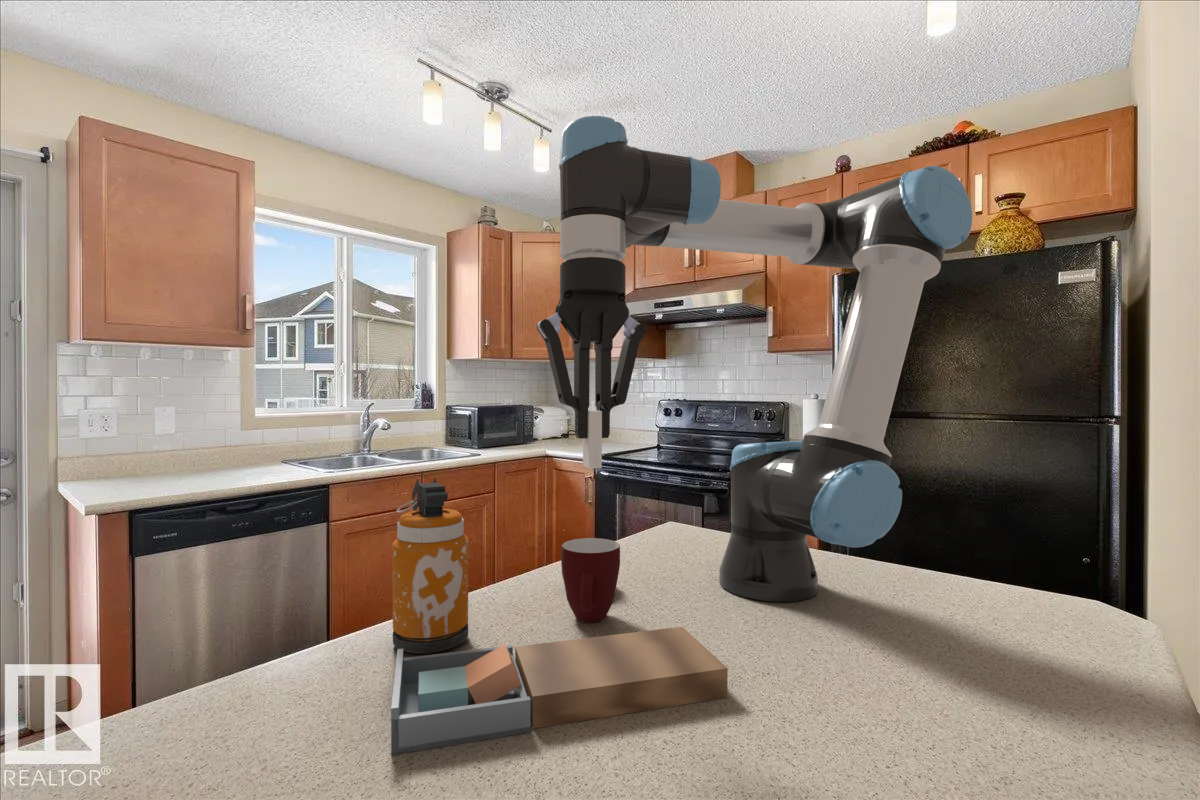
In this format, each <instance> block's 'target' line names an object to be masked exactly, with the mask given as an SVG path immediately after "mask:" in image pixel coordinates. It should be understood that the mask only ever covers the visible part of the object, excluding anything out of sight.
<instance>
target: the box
mask: <svg viewBox="0 0 1200 800" xmlns="http://www.w3.org/2000/svg"><path fill="white" fill-rule="evenodd" d="M506 646H507V648H508V650H509V653H510V655H511V657H512V659H513V661H514V663H515V666H516V669H517V672H518V675H519V678H520V681H521V684H522V685H521V686H519V687H518V688H516V689H514V690H512V691H511V692H509V693H507V694H505V695H504V696H502V697H500V698H499V699H497V700H495V701H493V702H488V703H481V704H476V703H475V701H474V699H473V697H472V695H471V693H470V691H469V689H468V705H467V706H460V707H453V708H446V709H439V710H432V711H425V712H419V713H418V690H419V672H424V671H431V670H439V669H447V668H455V667H463V666H466V665H468V664H470V663H472V662H473V661H475V660H477V659H479V658H481V657H482V656H484V655H486V654H488V653H490V652H491V651H493V650H495V649H497V648H499V647H500V646H494V647H486V648H485V647H484V648H477V649H468V650H461V651H458V650H457V651H451V652H443V653H441V652H440V653H432V654H424V655H419V656H409V657H404V651H403V649H398V648H397V650H396V660H395V668H394V670H395V671H394V679H393V686H392V697H391V708H390V727H391V728H390V731H391V732H390V734H391V735H390V737H391V739H390V741H391V742H390V744H391V745H390V751H391V752H390V754H391V756H392V755H399V754H405V753H411V752H412V753H413V752H418V751H423V750H430V749H435V748H442V747H447V746H455V745H459V744H460V745H461V744H467V743H473V742H479V741H485V740H491V739H498V738H503V737H509V736H515V735H521V734H528V733H531V722H530V697H527V694H526V691H525V688H524V685H523V682H522V679H521V676H520V673H519V670H518V667H517V664H516V661H515V656H514V655H515V654H514V651H513V650H514V649H513V647H514V646H513V644H511V645H510V644H508V645H506Z"/></svg>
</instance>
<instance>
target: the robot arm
mask: <svg viewBox="0 0 1200 800" xmlns="http://www.w3.org/2000/svg"><path fill="white" fill-rule="evenodd" d="M626 131H627V130H626V128H625V126H624V125H623V124H622V122H619V121H616V120H615V119H613V118H611V117H608V116H605V115H604V116H603V115H590V116H589V115H588V116H582V117H579V118H577V119H574V120H573V121H570V122H569V123H568V124H567V126H566V127H564V129H563V131H562V133H561V134H562V135H561V140H560V141H561V143H560V155H559V164H558V169H559V179H560V180H559V187H560V188H559V189H560V190H559V191H560V192H559V194H560V236H559V237H560V238H559V239H560V242H559V243H560V245H559V246H560V247H559V248H560V249H559V256H560V257H561V259H562V260H563V261H562V263H561V264H560V266H559V299H558V300H559V301H558V304H557V306H556V307H555V310H554V311H555V313H554V314H552V315H550V316H549V317H547V318H546V319H542V320H540V321H539V322H538V323H536V330H537V331H538V333H539V334H540V336H541V337H542V339H543V341H544V343H545V346H546V351H547V356H548V360H549V364H550V368H551V372H552V376H553V381H554V385H555V389H556V392H557V394H556V395H557V398H558V402H559V403H560V404H562V405H563V406H567V407H570V408H572V409H573V411H574V435H575V437H576V438H577V439H582V466H583V467H584V468H587V469H589V470H592V469H595V470H596V469H602V468H603V467H602V464H603V462H602V461H603V460H602V459H603V455H602V453H603V451H602V450H603V449H602V448H603V445H602V444H603V439H609V437H610V433H611V432H610V431H611V427H610V426H611V421H610V420H611V410H613V408H615V407H617V406H620V405H624V404H625V403H626V402H627V396H628V393H629V389H630V384H631V381H632V376H633V372H634V368H635V364H636V363H635V362H636V359H637V354H638V351H639V346H640V343H641V341H642V339H643V338H644V336H645V334H646V333H647V331H648V325H647V324H646V323H644V322H641V323H640V322H638V321H637V320H636V319H635V318H634V317H632V316H631V315H630V309H629V307H628V305H627V302H626V269H627V268H626V265H625V264H624V262H622V261H623V260H624V259H625V258H627V257H626V256H627V254H626V253H627V250H626V249H628V248H630V247H631V246H643V247H658V248H659V247H660V248H673V249H686V250H697V251H698V250H699V251H709V252H721V253H722V252H724V253H735V254H744V255H745V254H746V255H747V254H748V255H749V254H750V255H761V256H772V257H784V258H786V259H787V260H788V261H789V262H791V263H792V264H795V265H801V266H816V267H824V268H825V267H827V268H839V269H856V270H858V272H859V276H858V278H857V281H856V286H855V290H854V294H853V297H852V301H851V304H850V309H849V312H848V315H847V319H846V322H845V323H846V324H845V326H844V331H843V335H842V337H841V341H840V345H839V349H838V353H837V356H836V360H835V364H834V368H833V371H832V375H831V378H830V383H829V386H828V389H827V392H826V396H825V401H824V405H823V408H822V412H821V415H820V419H819V422H818V425H817V426H816V427H815V428H813V429H811V430H809V431H807V432H806V433H804V434H803V435H804V436H803V438H802V440H795V441H793V440H792V441H791V440H789V441H771V442H770V441H769V442H753V443H752V442H751V443H741V444H738V445H736V446H735V447H734V448H733V449H732V452H731V460H730V466H729V470H730V536H729V540H728V543H727V546H726V549H725V551H724V554H723V557H722V561H721V564H720V566H719V575H718V576H719V581H718V582H719V585H720V586H721V587H722V588H723V589H724V590H726V591H728V592H729V593H731V594H734V595H736V596H741V597H743V598H747V599H752V600H758V601H765V602H781V603H782V602H783V603H785V602H788V603H789V602H797V601H798V602H799V601H805V600H807V599H810V598H813V597H814V596H816V595H817V594H818V591H819V577H818V573H817V570H816V566H815V564H814V561H813V557H812V554H811V551H810V547H809V544H808V542H807V536H810V537H812V538H816V539H818V540H821V541H822V542H825V543H829V544H831V545H840V546H844V547H847V548H864V547H867V546H871V545H872V544H874V543H875V542H876V540H879V539H882V538H883V537H884V536H886V534H888V532H889V531H890V530H891V529H892V527H894V524H895V522H896V521H897V518H898V516H899V514H900V511H901V507H902V503H903V502H902V501H903V490H902V488H901V487H899V486H900V484H901V482H900V481H901V480H900V478H899V476H898V475H897V473H896V472H895V471H894V470H893V469H892V468H891V467H890V465H891V462H892V459H893V458H892V457H893V455H892V453H891V452H890V451H889V449H888V448H887V447H886V445H885V443H884V439H885V436H886V432H887V427H888V424H889V420H890V416H891V413H892V408H893V406H894V405H893V404H894V401H895V397H896V393H897V389H898V386H899V380H900V377H901V373H902V369H903V365H904V362H905V359H906V353H907V352H908V351H907V350H908V347H909V343H910V339H911V335H912V332H913V331H912V330H913V327H914V324H915V323H914V322H915V320H916V316H917V312H918V308H919V305H920V300H921V296H922V292H923V289H924V285H925V282H927V281H929V280H930V279H932V278H934V277H936V276H937V275H938V274H939V272H940V270H941V267H942V263H943V260H944V255H945V252H946V250H951V249H954V248H956V247H957V246H959V245H960V244H961V243H964V242H965V241H966V239H967V238H968V237H969V235H970V233H971V229H972V226H973V209H972V204H971V199H970V197H969V195H968V193H967V190H966V188H965V185H963V183H962V182H961V180H960V179H959V178H958V177H957V175H955V174H954V173H952V172H951V171H950V170H949V169H946V168H944V167H942V166H938V165H929V166H924V167H922V168H919V169H916V170H908V171H906V172H903V174H902V175H901V176H899V177H895V178H892V179H891V180H887V181H885V182H882V183H880V184H877V185H874V186H871V187H869V188H866V189H864V190H861V191H858V192H855V193H853V194H850V195H847V196H845V197H842V198H839V199H836V200H832V201H829V202H823V203H821V202H820V203H815V202H803V203H800V204H797V205H796V206H795V207H791V206H782V205H774V204H773V205H772V204H766V203H755V202H746V201H738V200H731V199H722V198H721V195H722V190H721V184H722V180H721V175H720V173H719V170H718V169H717V167H716V166H715V165H714V164H713V163H711V162H709V161H704V160H701V159H696V158H693V157H692V156H691V155H690V156H683V155H682V156H681V155H676V154H670V153H664V152H657V151H650V150H645V149H641V148H638V147H634V146H630V145H628V140H629V139H628V138H627V132H626ZM560 323H561V325H562V326H563V329H565V331H566V332H567V334H568V335H569V337H570V339H572V349H573V387H572V385H571V380H570V376H569V371H568V367H567V363H566V358H565V354H564V349H563V345H562V342H561V338H560V336H559V333H560V332H561V326H560ZM622 327H623V330H622V331H623V332H622V333H623V336H624V339H623V341H622V345H621V349H620V353H619V356H618V357H619V358H618V362H617V366H616V370H615V374H614V379H613V384H612V351H613V343H614V342H613V339H614V338H615V337H616V336H617V334H618V333H619V332H620V330H621V329H622ZM592 343H594V344H593V348H594V349H593V350H594V354H595V358H594V361H595V363H594V367H595V368H594V369H595V371H594V376H595V380H594V382H595V383H594V388H595V389H594V391H595V392H594V393H595V395H594V401H595V403H594V405H595V408H596V409H589V407H590V369H591V367H590V365H591V364H590V361H591V359H590V358H591V357H590V354H591V353H590V351H591V347H592ZM572 388H573V389H572Z"/></svg>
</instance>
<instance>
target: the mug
mask: <svg viewBox="0 0 1200 800" xmlns="http://www.w3.org/2000/svg"><path fill="white" fill-rule="evenodd" d="M560 547H561V550H560V551H561V552H560V553H561V555H560V556H561V557H560V562H561V563H560V565H561V573H562V572H563V577H562V579H563V578H564V580H563V582H564V588H565V590H564V591H565V596H566V599H567V603H568V605H569V607H570V610H571V611H572V613H573V615H574V617H575V619H576V620H578V621H579V622H581V623H586V624H587V623H588V624H595V623H600V622H602V621H603V620H604V619H605V618H606V617H607V615H608V613H609V611H610V609H611V607H612V605H613V603H614V600H615V596H616V591H617V585H618V580H619V573H620V568H621V546H620V543H619V542H618V541H615V540H612V539H608V538H607V539H606V538H601V537H584V538H574V539H569V540H567V541H565V542H563V543H562V544H561V546H560Z"/></svg>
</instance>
